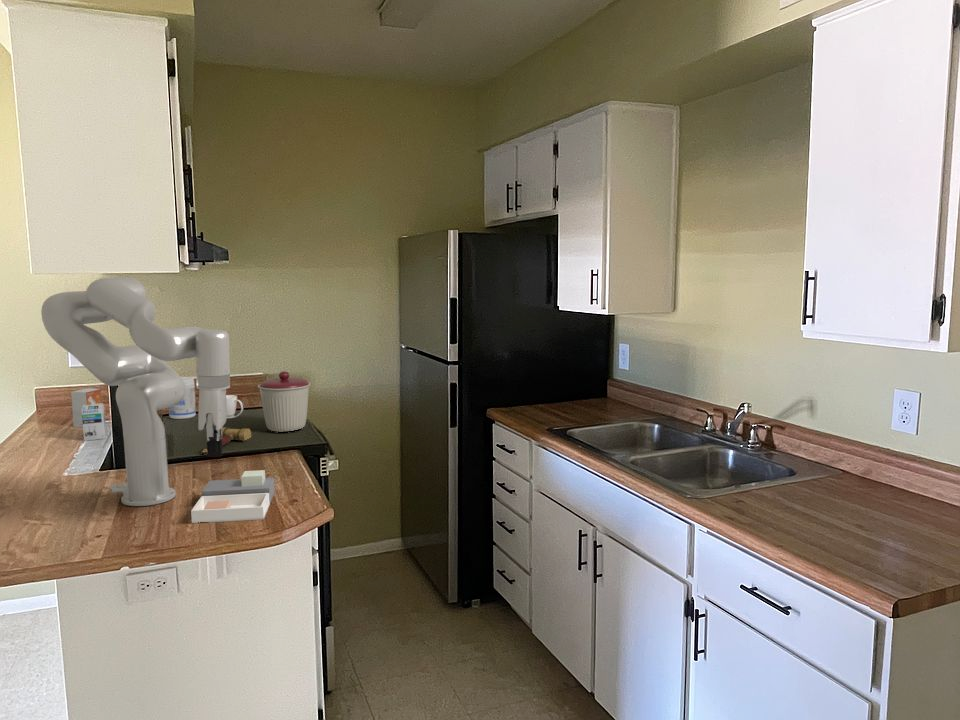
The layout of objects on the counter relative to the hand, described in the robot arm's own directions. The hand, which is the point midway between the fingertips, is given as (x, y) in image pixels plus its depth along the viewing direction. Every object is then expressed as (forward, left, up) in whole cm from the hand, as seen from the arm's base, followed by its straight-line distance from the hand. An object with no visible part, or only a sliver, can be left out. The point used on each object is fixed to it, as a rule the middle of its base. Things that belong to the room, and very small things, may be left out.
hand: (214, 455), depth 174 cm
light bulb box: (-57, +82, -13) cm, 100 cm away
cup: (-16, +106, -13) cm, 108 cm away
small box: (-66, +102, -13) cm, 122 cm away
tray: (+4, -5, -13) cm, 15 cm away
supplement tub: (-35, +110, -13) cm, 116 cm away
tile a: (+1, -7, -10) cm, 12 cm away
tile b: (+8, +6, -9) cm, 13 cm away
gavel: (-11, +61, -14) cm, 63 cm away
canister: (+7, +81, -13) cm, 82 cm away
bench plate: (+4, +5, -13) cm, 15 cm away
